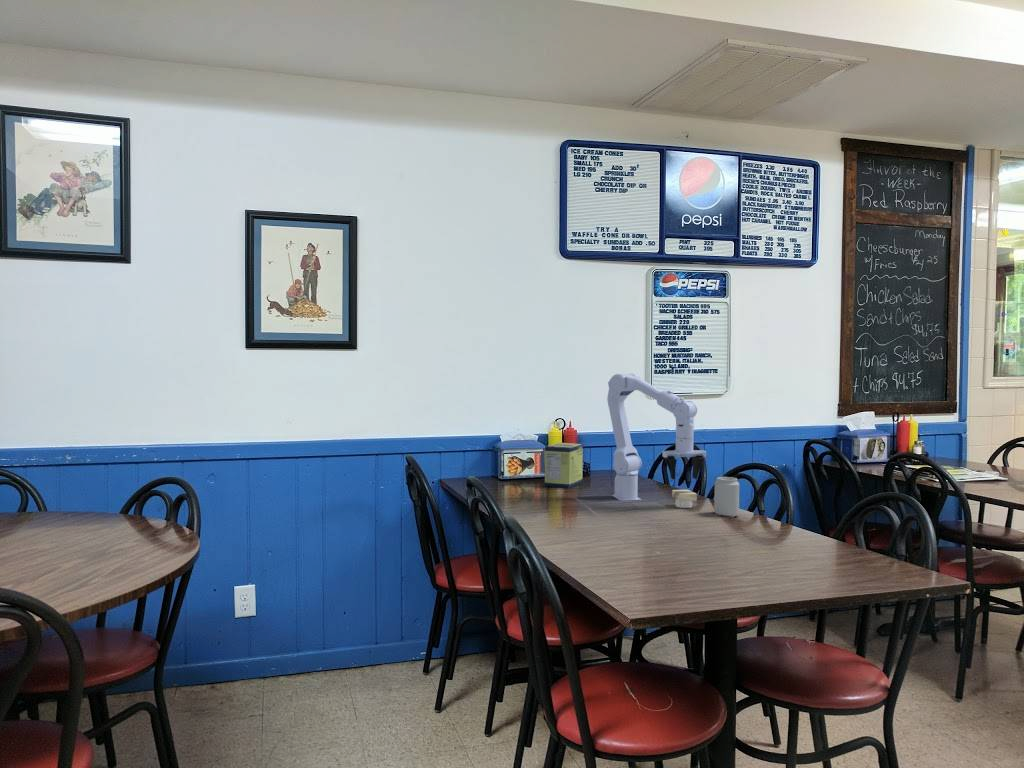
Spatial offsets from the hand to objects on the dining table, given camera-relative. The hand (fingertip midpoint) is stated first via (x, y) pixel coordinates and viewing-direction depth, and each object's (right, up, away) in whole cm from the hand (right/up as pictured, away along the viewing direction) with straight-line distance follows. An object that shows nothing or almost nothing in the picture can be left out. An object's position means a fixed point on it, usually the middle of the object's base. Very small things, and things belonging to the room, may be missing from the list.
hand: (683, 478), depth 249 cm
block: (0, -7, 0) cm, 7 cm away
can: (+11, -11, -11) cm, 19 cm away
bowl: (0, -10, 0) cm, 10 cm away
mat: (-12, -10, 0) cm, 15 cm away
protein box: (-37, -8, +45) cm, 59 cm away
